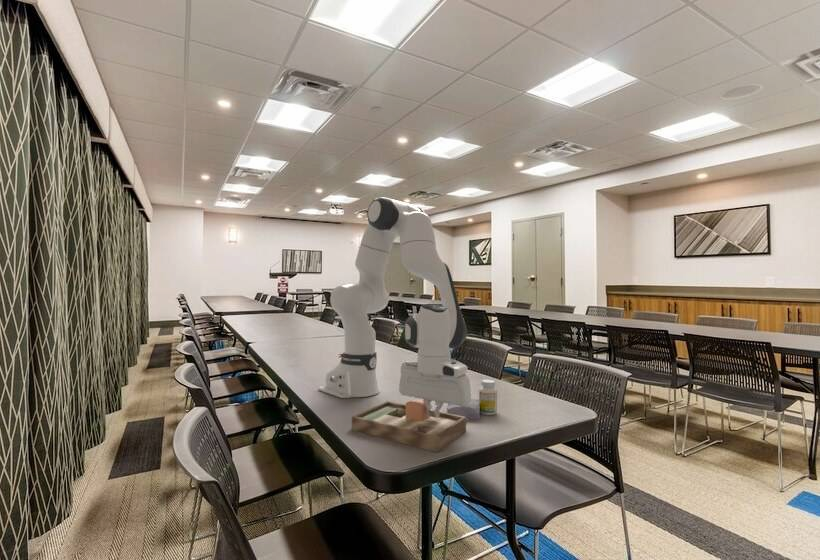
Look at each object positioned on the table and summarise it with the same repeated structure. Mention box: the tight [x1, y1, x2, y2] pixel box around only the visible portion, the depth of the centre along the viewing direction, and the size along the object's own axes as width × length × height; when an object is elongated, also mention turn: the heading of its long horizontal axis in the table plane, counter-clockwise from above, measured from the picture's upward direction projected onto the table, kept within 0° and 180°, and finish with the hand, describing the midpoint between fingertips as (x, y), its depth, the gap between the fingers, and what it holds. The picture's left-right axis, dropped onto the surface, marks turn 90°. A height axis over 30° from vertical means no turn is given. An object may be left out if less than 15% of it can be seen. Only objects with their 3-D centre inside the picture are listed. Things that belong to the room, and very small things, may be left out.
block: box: [405, 398, 430, 421], centre depth 105 cm, size 5×5×4 cm
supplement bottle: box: [478, 379, 498, 416], centre depth 117 cm, size 5×5×10 cm
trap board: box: [351, 400, 467, 453], centre depth 102 cm, size 26×17×3 cm, turn 59°
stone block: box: [446, 398, 481, 421], centre depth 116 cm, size 12×5×10 cm
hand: (433, 416), depth 102 cm, fingers closed
